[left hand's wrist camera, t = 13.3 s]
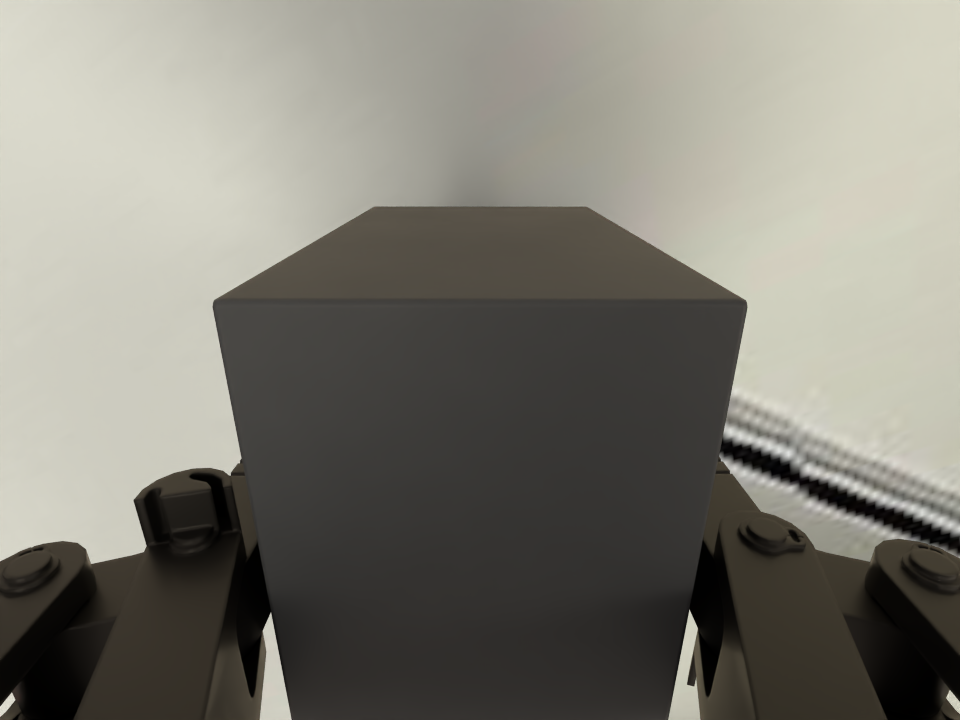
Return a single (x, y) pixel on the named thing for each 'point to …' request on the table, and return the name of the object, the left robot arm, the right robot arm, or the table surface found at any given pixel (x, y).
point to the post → (480, 461)
